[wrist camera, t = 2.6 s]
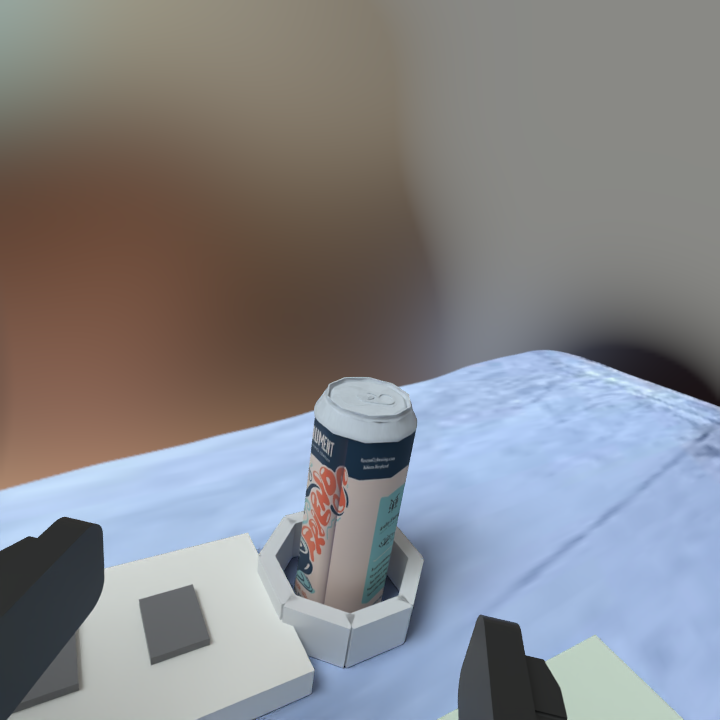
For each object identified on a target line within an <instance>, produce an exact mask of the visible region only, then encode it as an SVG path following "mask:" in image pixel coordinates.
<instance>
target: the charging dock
mask: <svg viewBox="0 0 720 720" xmlns="http://www.w3.org/2000/svg"><path fill="white" fill-rule="evenodd" d="M303 515H304V511H302V512H298V513H293V514H289V515H286V517H283V518H282V520H281V522H280V523H279V525H278V526H277V528H276V529H275V531H274V532H273V534H272V535H271V537H270V538H269V540H268V541H267V543H266V544H265V546H264V547H263V549H262V550H261V552H260V553H259V554H258V552H257V550H256V548H255V546H254V544H253V542H252V540H251V538H250V536H249V534H248V533H245V534H241V535H237V536H233V537H229V538H225V539H221V540H217V541H213V542H209V543H205V544H201V545H197V546H193V547H189V548H185V549H181V550H177V551H173V552H169V553H165V554H161V555H157V556H153V557H149V558H145V559H141V560H137V561H133V562H129V563H125V564H121V565H117V566H113V567H109V568H105V569H104V586H103V590H102V593H101V595H100V598H99V600H98V602H97V604H96V606H95V607H94V609H93V610H92V612H91V613H90V614H89V616H88V617H87V618H86V620H85V621H84V622H83V623H82V625H81V626H80V627H79V628H78V630H77V631H76V632H75V634H74V635H73V636H72V637H71V639H70V640H69V641H68V642H67V644H66V645H65V646H64V648H63V649H62V650H61V651H60V653H59V654H58V655H57V657H56V658H55V659H54V660H53V662H52V663H51V664H50V665H49V667H48V668H47V669H46V671H45V672H44V673H43V674H42V676H41V677H40V678H39V680H38V681H37V682H36V683H35V685H34V686H33V687H32V688H31V690H30V691H29V692H28V694H27V695H26V696H25V697H24V699H23V700H22V701H21V702H20V704H19V705H18V706H17V708H16V709H15V710H14V711H13V713H12V714H11V715H10V717H9V718H8V719H7V720H253V719H255V718H257V717H260V716H262V715H264V714H267V713H269V712H271V711H273V710H276V709H278V708H280V707H283V706H285V705H287V704H289V703H292V702H294V701H296V700H299V699H301V698H303V697H305V696H308V695H310V694H311V692H312V685H313V678H314V671H315V670H314V668H313V666H312V664H311V662H310V660H309V658H308V656H311V657H314V658H317V659H319V660H322V661H325V662H328V663H330V664H333V665H336V666H339V667H342V668H344V665H345V666H346V668H348V667H350V666H353V665H355V664H357V663H360V662H362V661H364V660H367V659H369V658H371V657H374V656H376V655H378V654H381V653H383V652H385V651H388V650H390V649H393V648H395V647H397V646H400V645H402V644H403V643H404V642H405V639H406V635H407V630H408V626H409V622H410V618H411V613H412V609H413V605H414V600H415V596H416V592H417V587H418V583H419V579H420V574H421V570H422V565H423V561H424V559H423V557H422V555H421V554H420V553H419V552H418V551H417V549H416V548H415V547H414V546H413V545H412V543H411V542H410V541H409V540H408V539H407V538H406V536H405V535H404V534H403V533H402V532H401V530H400V529H399V528H398V527H397V526H396V531H395V535H394V540H393V545H392V550H391V555H390V560H389V565H388V570H387V575H388V577H389V578H390V579H391V581H392V582H393V583H394V585H395V586H396V587H397V589H398V590H399V595H398V596H396V597H393V598H391V599H388V600H385V601H383V602H380V603H377V604H374V605H372V606H369V607H366V608H364V609H361V610H358V611H355V612H353V613H347V612H344V611H341V610H338V609H335V608H332V607H329V606H326V605H323V604H320V603H318V602H315V601H312V600H309V599H306V598H303V597H300V596H297V595H295V593H294V591H293V589H292V587H291V585H290V583H289V581H288V580H287V578H286V576H285V574H284V570H285V568H286V567H287V565H288V563H289V561H290V560H291V558H293V557H296V556H299V549H300V541H301V532H302V524H303ZM307 655H308V656H307Z"/></svg>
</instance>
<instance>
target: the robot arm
mask: <svg viewBox="0 0 720 720" xmlns="http://www.w3.org/2000/svg"><path fill="white" fill-rule="evenodd" d="M103 586H104V553H103V531H102V528H101V526H100V525H98V524H94V523H90V522H85V521H81V520H77V519H72V518H68V517H62V518H60V519H58V520H57V521H55V522H54V523H53V524H52V525H51V526H50V527H49V528H48V529H47V530H46V531H44V532H43V533H42V534H41V535H40V536H39V537H38V538H34V537H30V536H28V537H26V538H24V539H23V540H21V541H19V542H17V543H15V544H13V545H11V546H9V547H7V548H5V549H3V550H1V551H0V720H7V719H8V718H9V717H10V715H11V714H12V713H13V711H14V710H15V709H16V708H17V706H18V705H19V704H20V702H21V701H22V700H23V699H24V697H25V696H26V695H27V694H28V692H29V691H30V690H31V688H32V687H33V686H34V685H35V683H36V682H37V681H38V680H39V678H40V677H41V676H42V674H43V673H44V672H45V671H46V669H47V668H48V667H49V665H50V664H51V663H52V662H53V660H54V659H55V658H56V657H57V655H58V654H59V653H60V651H61V650H62V649H63V648H64V646H65V645H66V644H67V642H68V641H69V640H70V639H71V637H72V636H73V635H74V634H75V632H76V631H77V630H78V628H79V627H80V626H81V625H82V623H83V622H84V621H85V620H86V618H87V617H88V616H89V614H90V613H91V612H92V610H93V609H94V607H95V606H96V604H97V602H98V600H99V598H100V595H101V593H102V590H103ZM458 720H567V713H566V709H565V705H564V700H563V696H562V692H561V688H560V686H559V684H558V683H557V681H556V679H555V678H554V676H553V674H552V673H551V671H550V669H549V668H548V666H547V664H546V663H545V661H544V660H543V659H539V658H534V657H530V656H526V655H525V651H524V645H523V640H522V634H521V629H520V626H519V625H518V624H517V623H514V622H510V621H505V620H501V619H497V618H493V617H488V616H484V615H479V617H478V619H477V621H476V624H475V627H474V630H473V634H472V637H471V640H470V643H469V646H468V649H467V652H466V656H465V659H464V662H463V665H462V669H461V673H460V679H459V688H458Z"/></svg>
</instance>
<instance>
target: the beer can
mask: <svg viewBox="0 0 720 720" xmlns="http://www.w3.org/2000/svg"><path fill="white" fill-rule="evenodd" d="M314 414H315V422H314V430H313V439H312V447H311V456H310V464H309V473H308V481H307V490H306V498H305V507H304V515H303V524H302V532H301V541H300V549H299V558H298V566H297V574H296V578H295V583H294V590H295V594H296V595H297V596H300V597H303V598H306V599H309V600H312V601H315V602H318V603H320V604H323V605H326V606H329V607H332V608H335V609H338V610H341V611H344V612H347V613H353V612H355V611H358V610H361V609H364V608H366V607H369V606H372V605H374V604H377V603H380V602H381V600H382V595H383V590H384V585H385V580H386V575H387V570H388V565H389V560H390V555H391V550H392V545H393V540H394V535H395V531H396V526H397V521H398V516H399V511H400V506H401V501H402V496H403V491H404V486H405V481H406V476H407V471H408V467H409V462H410V457H411V452H412V447H413V442H414V437H415V432H416V428H417V418H416V416H415V413H414V411H413V409H412V404H411V401H410V398H409V394H408V393H406V392H405V391H403V390H402V389H400V388H399V387H397V386H395V385H394V384H392V383H389V382H385V381H381V380H377V379H373V378H370V377H345V378H342V379H340V380H337V381H335V382H332V383H330V384H329V385H328V388H327V389H326V390H325V392H324V393H323V394H322V396H321V397H320V399H319V400H318V401H317V403H316V405H315V407H314Z"/></svg>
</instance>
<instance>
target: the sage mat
mask: <svg viewBox="0 0 720 720" xmlns="http://www.w3.org/2000/svg"><path fill="white" fill-rule="evenodd" d="M545 663H546V664H547V666H548V668H549V669H550V671H551V673H552V674H553V676H554V678H555V679H556V681H557V683H558V684H559V686H560V688H561V692H562V696H563V700H564V705H565V709H566V713H567V720H684V719H682V718H681V717H680V716H679V715H678V714H677V713H676V712H675V711H674V710H673V709H672V708H671V707H670V706H669V705H668V704H667V703H666V702H665V701H664V700H663V699H662V698H661V697H660V696H658V695H657V694H656V693H655V692H654V691H653V690H652V689H651V688H650V687H649V686H648V685H647V684H646V683H645V682H644V681H643V680H642V679H641V678H640V677H639V676H638V675H637V674H636V673H634V672H633V671H632V670H631V669H630V668H629V667H628V666H627V665H626V664H625V663H624V662H623V661H622V660H621V659H620V658H619V657H618V656H617V655H616V654H615V653H614V652H613V651H612V650H611V649H609V648H608V647H607V646H606V645H605V644H604V643H603V642H602V641H601V640H600V639H599V638H598V637H597V636H596V635H594V636H592V637H590V638H588V639H586V640H585V641H583V642H581V643H579V644H577V645H575V646H573V647H571V648H570V649H568V650H566V651H564V652H562V653H560V654H558V655H557V656H555V657H553V658H551V659H549V660H547V661H545ZM437 720H458V709H456V710H454V711H452V712H450V713H448V714H446V715H445V716H443V717H441V718H439V719H437Z"/></svg>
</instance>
